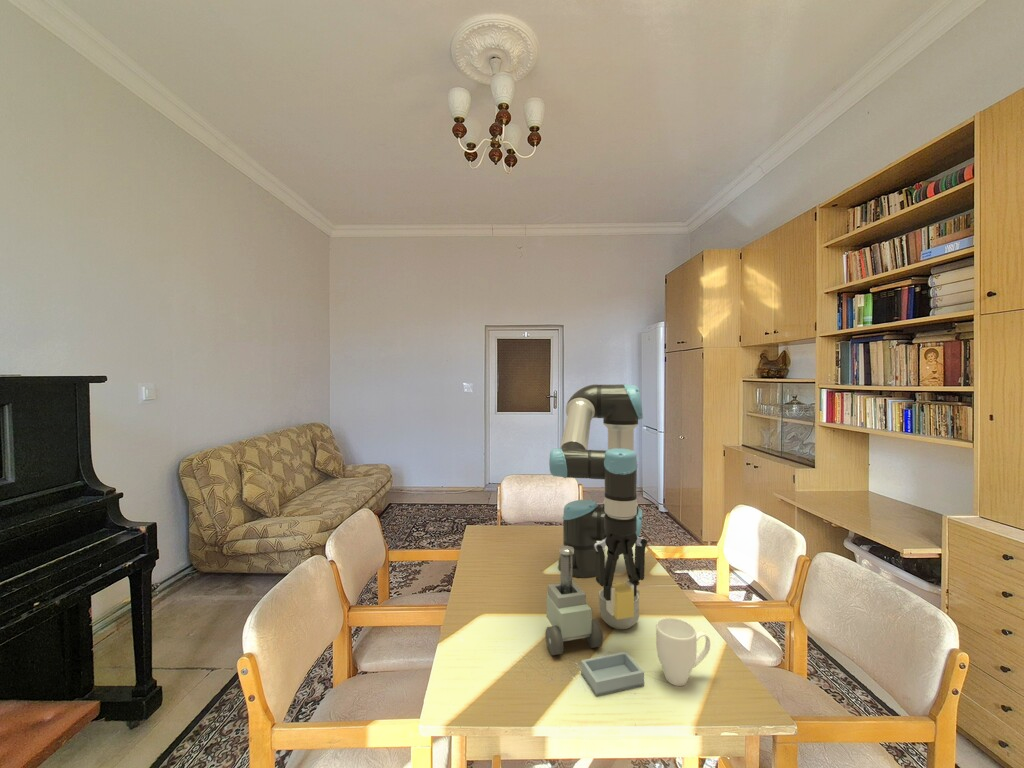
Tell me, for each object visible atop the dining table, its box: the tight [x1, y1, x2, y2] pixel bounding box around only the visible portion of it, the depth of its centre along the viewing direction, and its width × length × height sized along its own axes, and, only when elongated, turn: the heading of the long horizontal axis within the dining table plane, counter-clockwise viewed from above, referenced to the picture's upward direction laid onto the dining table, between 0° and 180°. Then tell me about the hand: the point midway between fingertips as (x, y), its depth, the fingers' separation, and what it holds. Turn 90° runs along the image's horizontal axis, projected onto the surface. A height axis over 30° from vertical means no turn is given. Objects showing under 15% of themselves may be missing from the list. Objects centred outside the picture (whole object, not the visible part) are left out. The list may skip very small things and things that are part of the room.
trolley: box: [545, 580, 604, 656], centre depth 109 cm, size 13×12×12 cm
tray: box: [580, 651, 645, 698], centre depth 95 cm, size 11×7×3 cm, turn 106°
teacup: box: [598, 588, 640, 630], centre depth 119 cm, size 14×11×8 cm
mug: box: [655, 617, 711, 687], centre depth 96 cm, size 12×8×11 cm
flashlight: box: [558, 545, 574, 595], centre depth 111 cm, size 4×4×13 cm
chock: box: [612, 581, 634, 620], centre depth 104 cm, size 4×5×6 cm
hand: (620, 610), depth 104 cm, fingers closed on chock, 4 cm apart
